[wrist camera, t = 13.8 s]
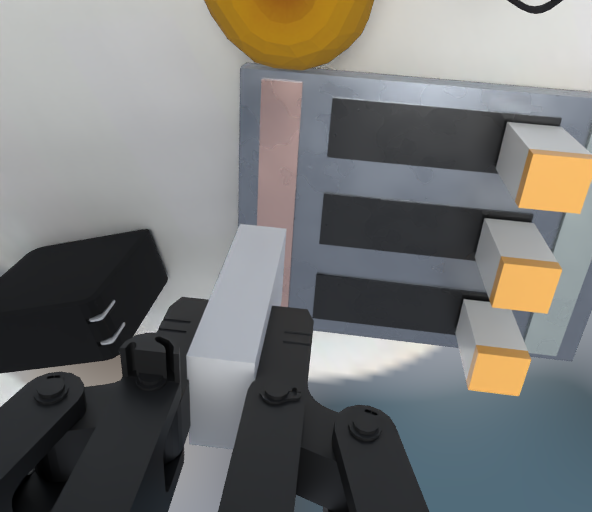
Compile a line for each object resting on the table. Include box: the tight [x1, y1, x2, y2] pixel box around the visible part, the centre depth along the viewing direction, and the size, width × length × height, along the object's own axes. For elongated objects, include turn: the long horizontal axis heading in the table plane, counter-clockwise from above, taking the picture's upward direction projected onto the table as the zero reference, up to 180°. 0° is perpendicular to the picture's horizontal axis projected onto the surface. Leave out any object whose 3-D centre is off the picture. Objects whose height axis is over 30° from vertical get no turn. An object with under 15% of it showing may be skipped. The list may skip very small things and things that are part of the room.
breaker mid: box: [475, 218, 562, 314], centre depth 33 cm, size 3×3×6 cm
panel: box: [238, 63, 592, 361], centre depth 37 cm, size 24×18×2 cm
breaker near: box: [496, 122, 592, 214], centre depth 30 cm, size 3×3×6 cm
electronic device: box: [0, 229, 168, 373], centre depth 38 cm, size 4×10×10 cm, turn 103°
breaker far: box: [456, 299, 531, 396], centre depth 35 cm, size 3×3×6 cm
